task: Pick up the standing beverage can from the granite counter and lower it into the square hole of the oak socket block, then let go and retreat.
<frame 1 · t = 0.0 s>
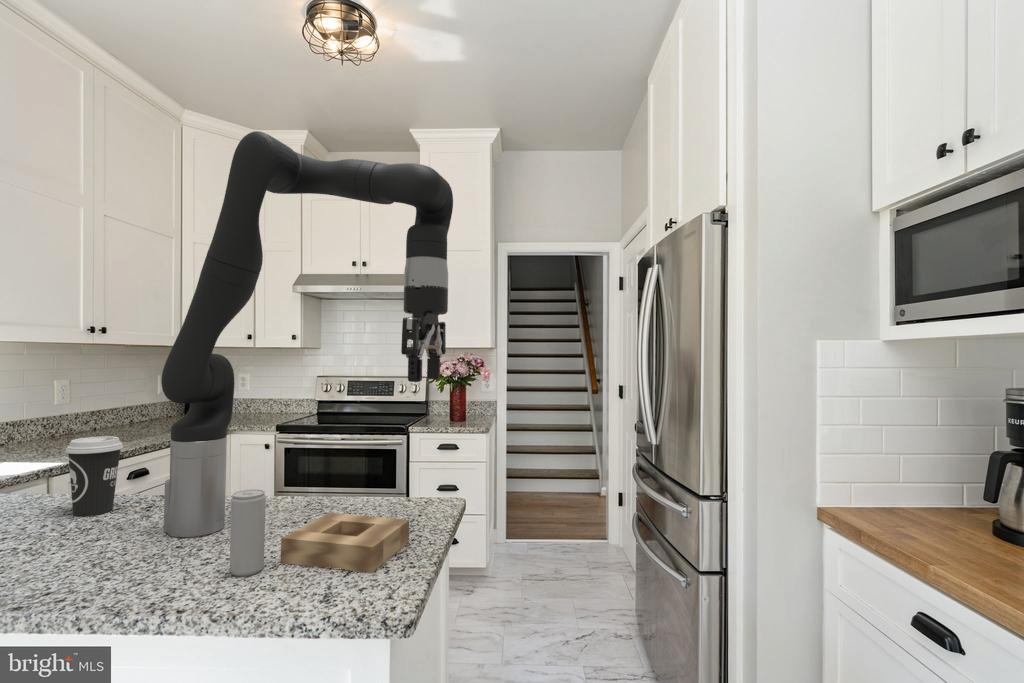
hand: (424, 380, 93), 29 cm above the counter, fingers open, 8 cm apart
coffee cup: (93, 512, 112), on the counter
beverage can: (246, 572, 83), on the counter
socket: (348, 552, 92), on the counter
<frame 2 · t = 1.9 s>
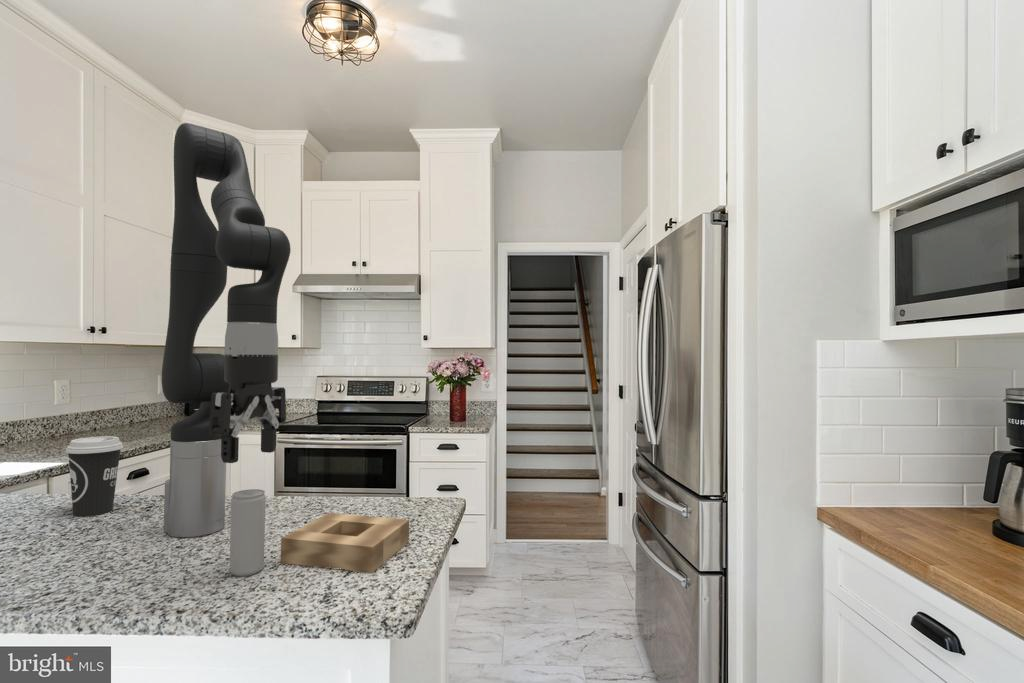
hand: (249, 457, 84), 18 cm above the counter, fingers open, 8 cm apart
nothing on the counter moved.
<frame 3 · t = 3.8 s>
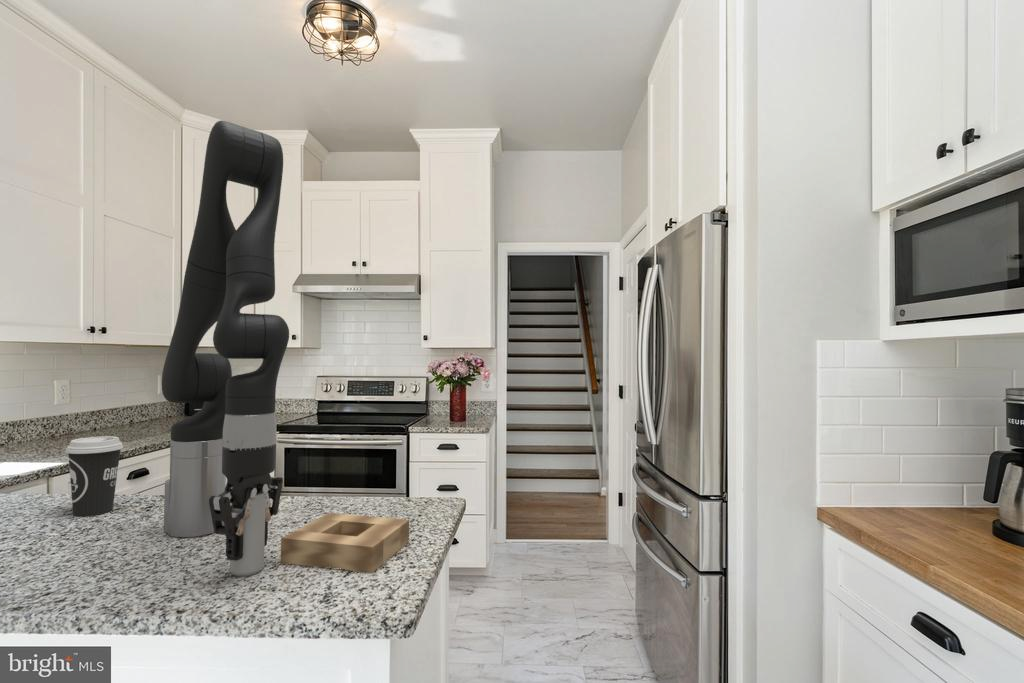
hand: (247, 552, 83), 3 cm above the counter, fingers closed on beverage can, 5 cm apart
beverage can: (246, 572, 83), on the counter, touching gripper
everything else where it was.
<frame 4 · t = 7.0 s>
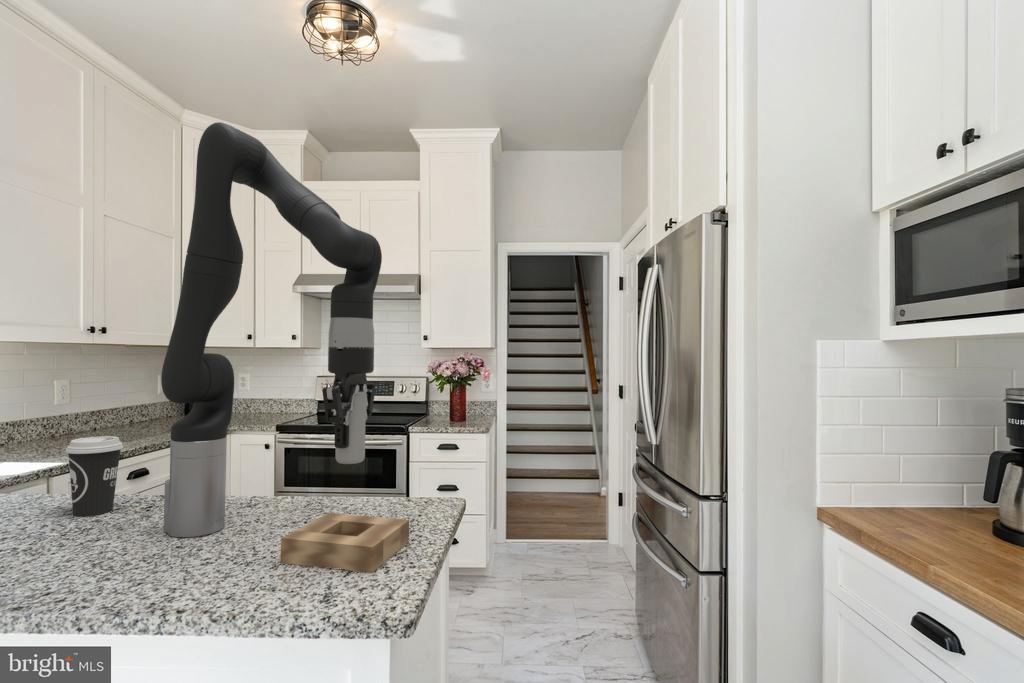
hand: (349, 444, 92), 18 cm above the counter, fingers closed on beverage can, 5 cm apart
beverage can: (350, 462, 92), point 15 cm above the counter, touching gripper
everything else where it was.
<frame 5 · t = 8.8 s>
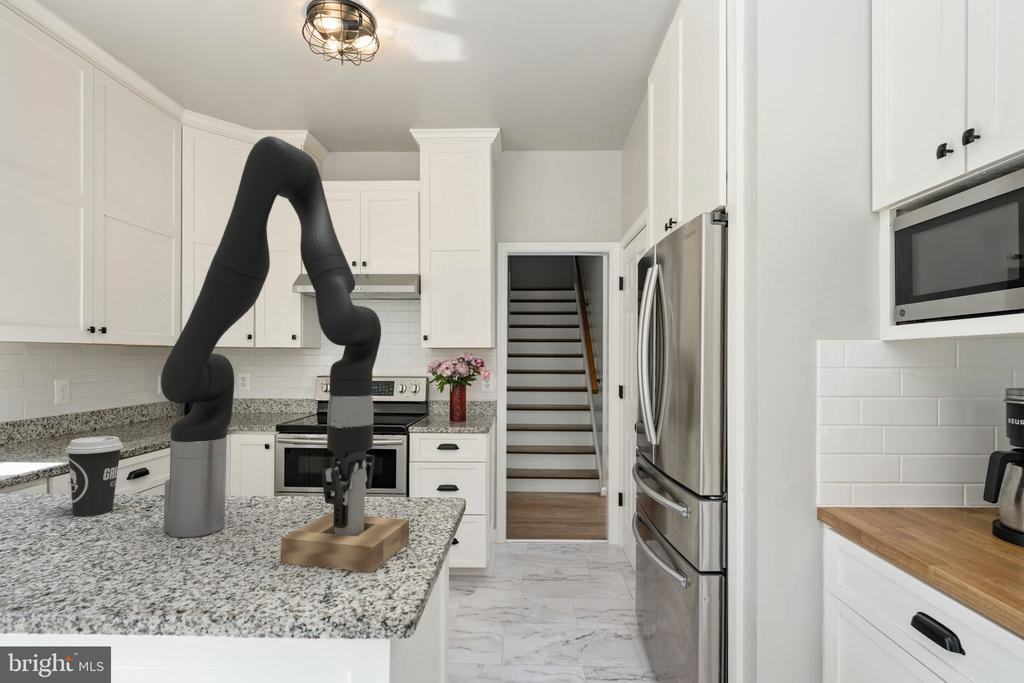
hand: (348, 521, 92), 5 cm above the counter, fingers closed on beverage can, 5 cm apart
beverage can: (349, 540, 92), point 2 cm above the counter, touching gripper
everything else where it was.
when the fingers open (5 cm above the counter, at t = 9.9 s): beverage can drops 2 cm, resting in socket.
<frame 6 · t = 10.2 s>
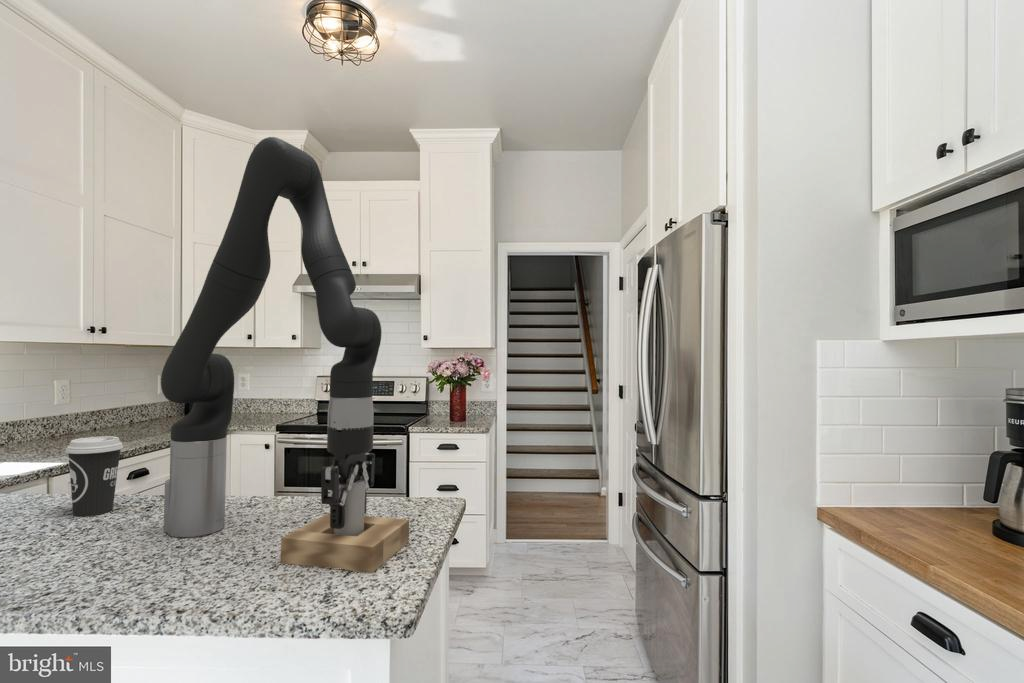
hand: (348, 520, 92), 5 cm above the counter, fingers open, 7 cm apart
beverage can: (348, 552, 92), resting in socket
everything else where it was.
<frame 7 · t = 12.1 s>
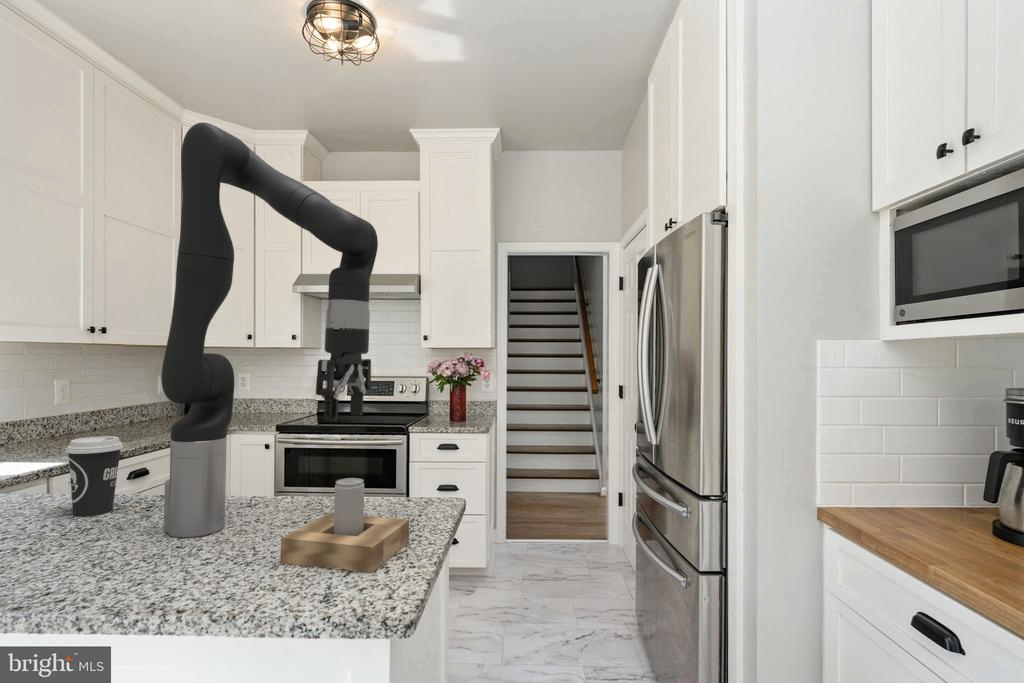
hand: (344, 417, 96), 22 cm above the counter, fingers open, 8 cm apart
nothing on the counter moved.
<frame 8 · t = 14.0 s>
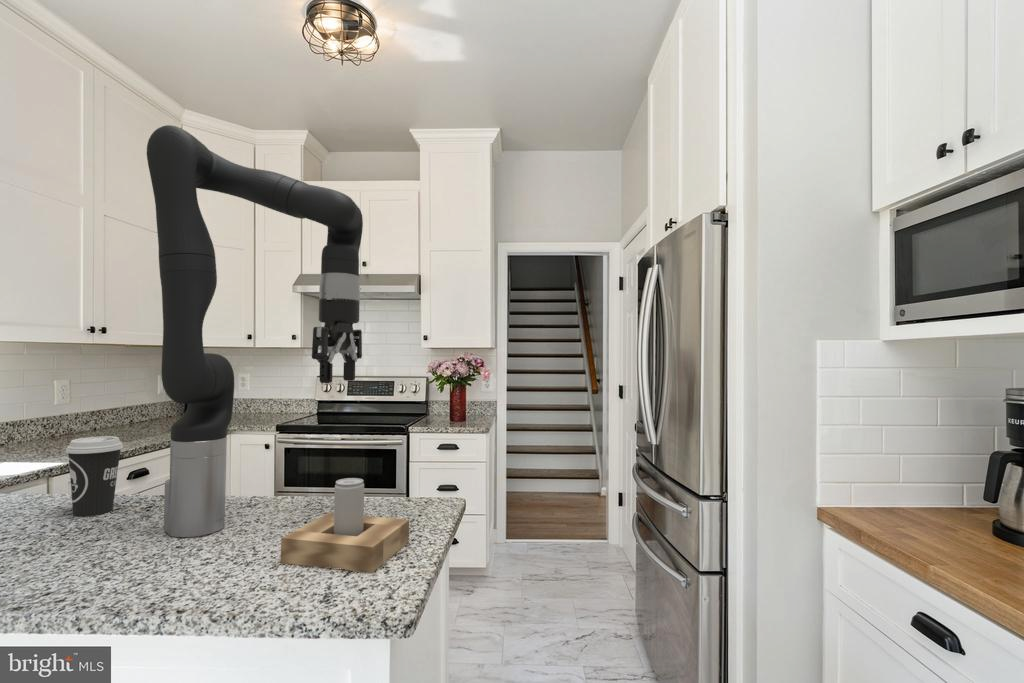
hand: (337, 381, 105), 28 cm above the counter, fingers open, 8 cm apart
nothing on the counter moved.
at the end: beverage can 0.0 cm off-centre on the socket, point 0.0 cm above the socket's base; beverage can tilted 0°; the gripper is holding nothing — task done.
